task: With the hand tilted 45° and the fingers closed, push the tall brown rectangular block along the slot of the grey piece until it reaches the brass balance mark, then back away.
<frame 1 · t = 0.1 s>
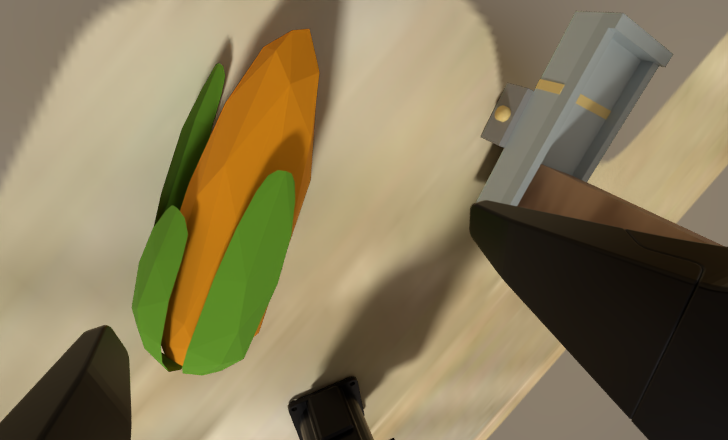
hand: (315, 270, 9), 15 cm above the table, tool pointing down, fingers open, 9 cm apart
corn: (225, 190, 23), on the table
grey piece: (526, 124, 29), on the table
brown rectangular block: (611, 245, 22), point 10 cm above the table, slide at 0.0 cm
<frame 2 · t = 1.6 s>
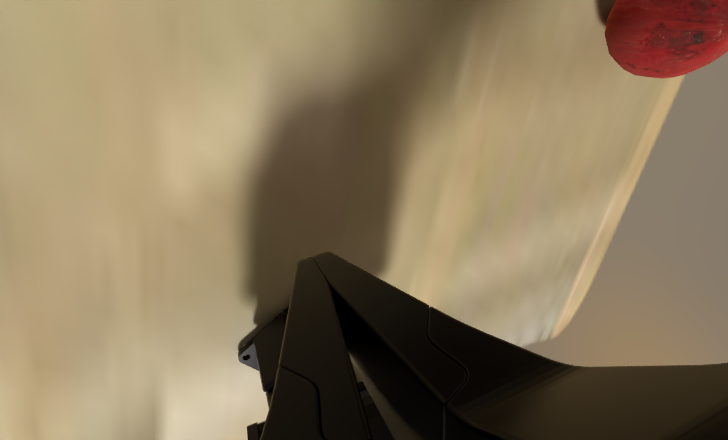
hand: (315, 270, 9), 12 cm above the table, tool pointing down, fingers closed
red oval piece: (607, 18, 24), on the table
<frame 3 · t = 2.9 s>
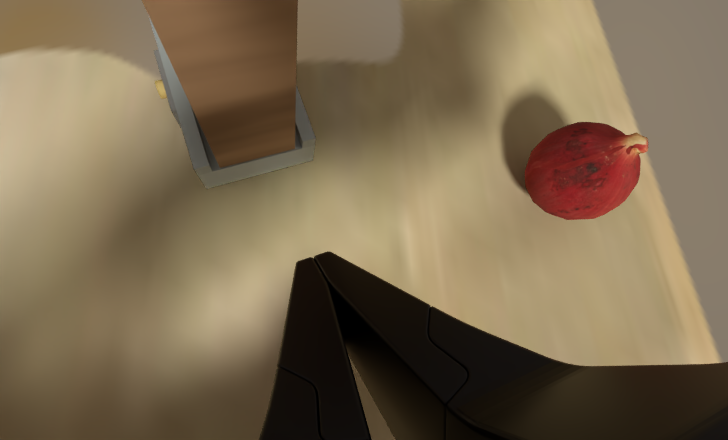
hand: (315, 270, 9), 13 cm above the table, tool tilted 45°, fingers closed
red oval piece: (538, 193, 27), on the table
grey piece: (231, 87, 24), on the table
brown rectangular block: (224, 30, 14), point 10 cm above the table, slide at 0.0 cm
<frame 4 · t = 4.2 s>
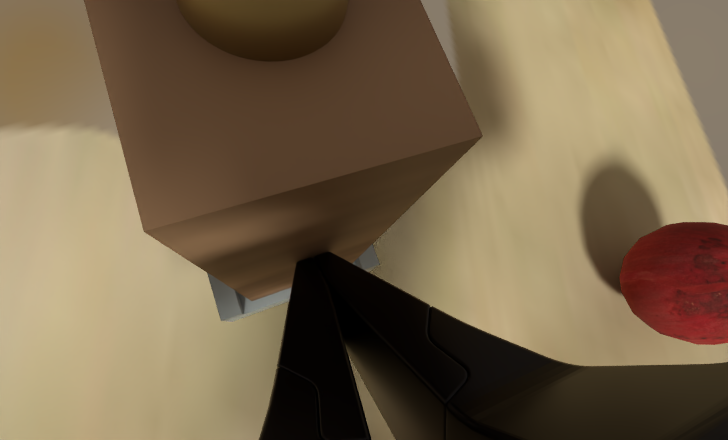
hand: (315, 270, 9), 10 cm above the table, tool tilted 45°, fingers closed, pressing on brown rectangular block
red oval piece: (626, 289, 22), on the table
grey piece: (258, 169, 20), on the table
brown rectangular block: (276, 160, 9), point 10 cm above the table, slide at 0.3 cm, touching gripper
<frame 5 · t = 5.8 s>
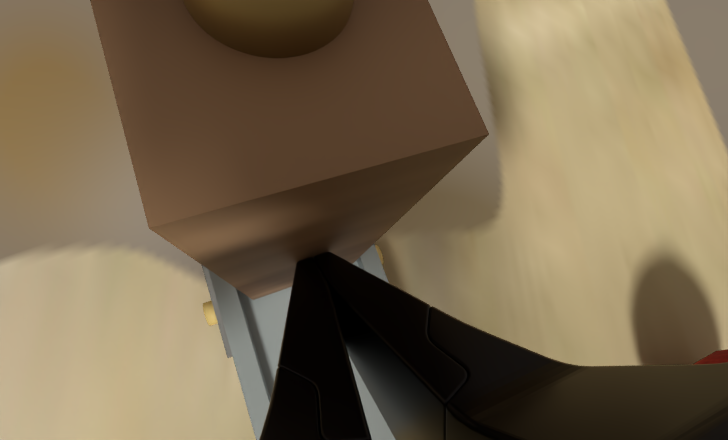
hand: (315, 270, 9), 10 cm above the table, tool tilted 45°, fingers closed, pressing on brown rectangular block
red oval piece: (682, 399, 21), on the table
grey piece: (297, 285, 19), on the table
brown rectangular block: (279, 159, 9), point 10 cm above the table, slide at 6.7 cm, touching gripper
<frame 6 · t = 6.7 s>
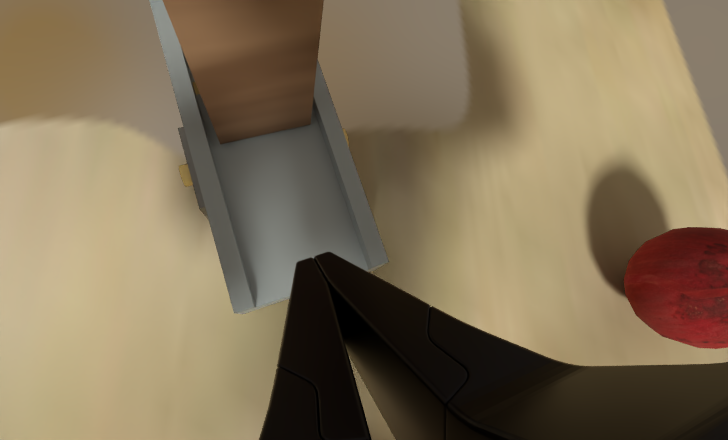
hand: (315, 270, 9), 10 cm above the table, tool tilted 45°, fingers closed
red oval piece: (630, 291, 22), on the table
grey piece: (269, 165, 20), on the table
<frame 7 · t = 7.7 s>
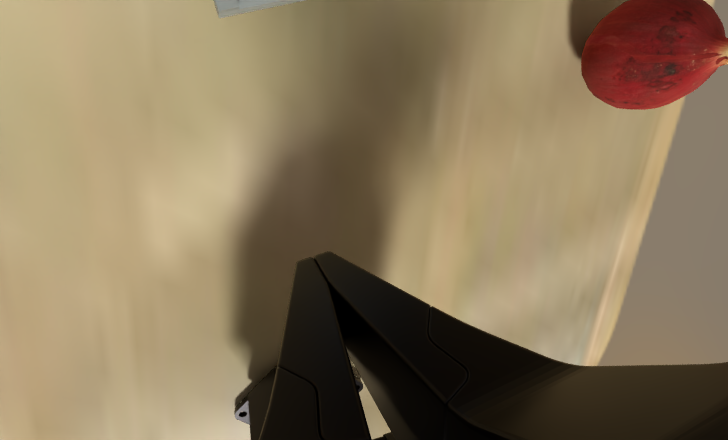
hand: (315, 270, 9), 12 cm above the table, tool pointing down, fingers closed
red oval piece: (585, 54, 24), on the table
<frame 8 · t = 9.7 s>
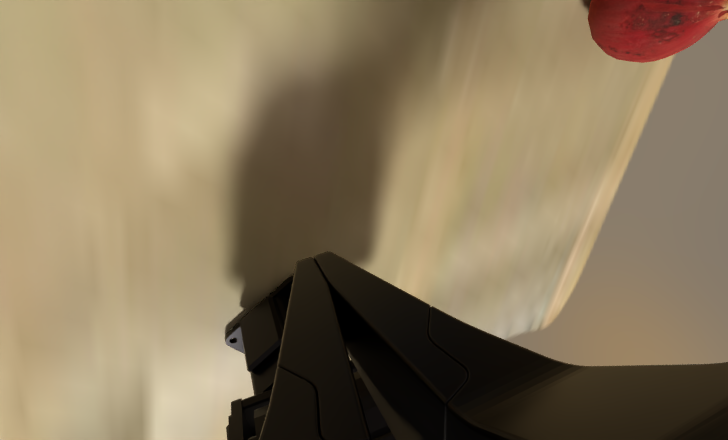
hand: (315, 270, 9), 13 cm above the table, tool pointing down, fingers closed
red oval piece: (591, 4, 24), on the table
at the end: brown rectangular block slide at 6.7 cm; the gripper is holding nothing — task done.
